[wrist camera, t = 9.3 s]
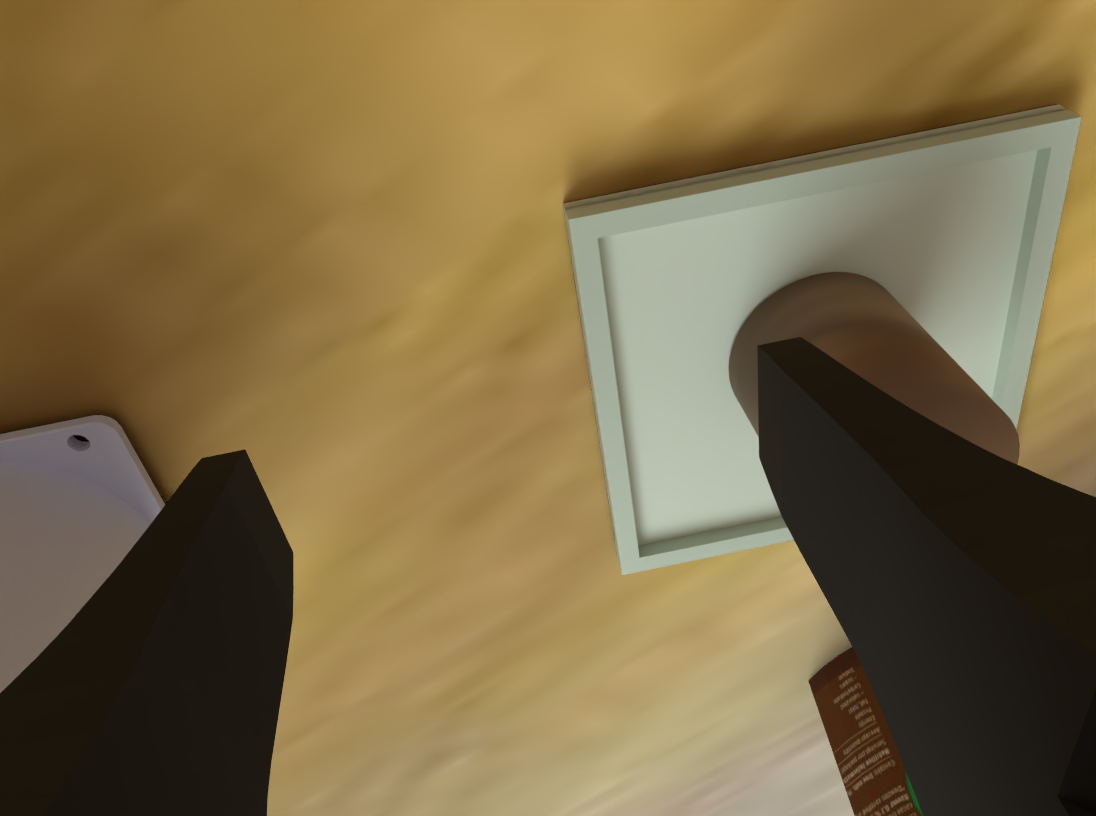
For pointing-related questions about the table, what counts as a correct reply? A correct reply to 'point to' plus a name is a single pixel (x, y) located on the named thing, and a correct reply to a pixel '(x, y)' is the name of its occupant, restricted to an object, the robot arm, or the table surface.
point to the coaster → (776, 261)
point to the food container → (862, 740)
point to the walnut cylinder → (871, 355)
